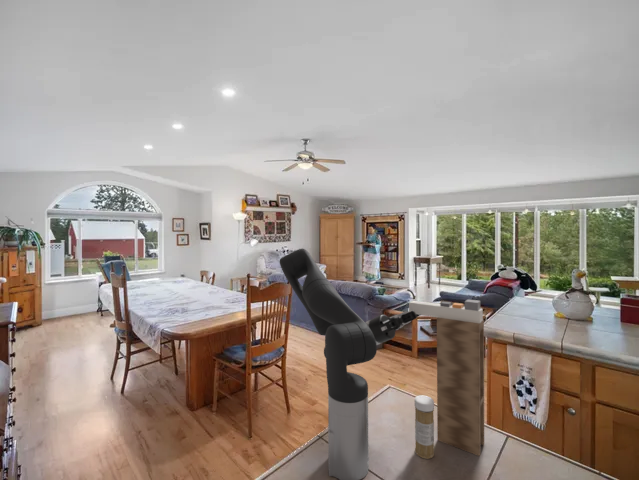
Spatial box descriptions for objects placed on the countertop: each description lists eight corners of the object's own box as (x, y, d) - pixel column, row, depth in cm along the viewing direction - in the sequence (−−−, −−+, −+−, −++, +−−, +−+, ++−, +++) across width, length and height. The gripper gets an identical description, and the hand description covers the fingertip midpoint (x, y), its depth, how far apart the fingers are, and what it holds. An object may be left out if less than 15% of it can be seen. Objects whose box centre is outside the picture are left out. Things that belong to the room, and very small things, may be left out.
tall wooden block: (437, 440, 82) (436, 318, 82) (444, 429, 86) (443, 313, 86) (479, 456, 76) (478, 324, 75) (484, 443, 80) (483, 319, 80)
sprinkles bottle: (421, 444, 80) (421, 392, 80) (438, 454, 76) (437, 399, 76) (411, 452, 77) (410, 398, 77) (427, 462, 73) (427, 406, 73)
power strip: (409, 313, 87) (409, 295, 87) (413, 310, 90) (413, 293, 90) (479, 323, 76) (479, 303, 76) (482, 320, 79) (482, 300, 79)
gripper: (358, 325, 91) (404, 302, 83) (380, 315, 103) (423, 295, 94) (370, 349, 89) (418, 329, 80) (391, 337, 100) (435, 318, 92)
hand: (420, 311), depth 87 cm, fingers open, 8 cm apart
